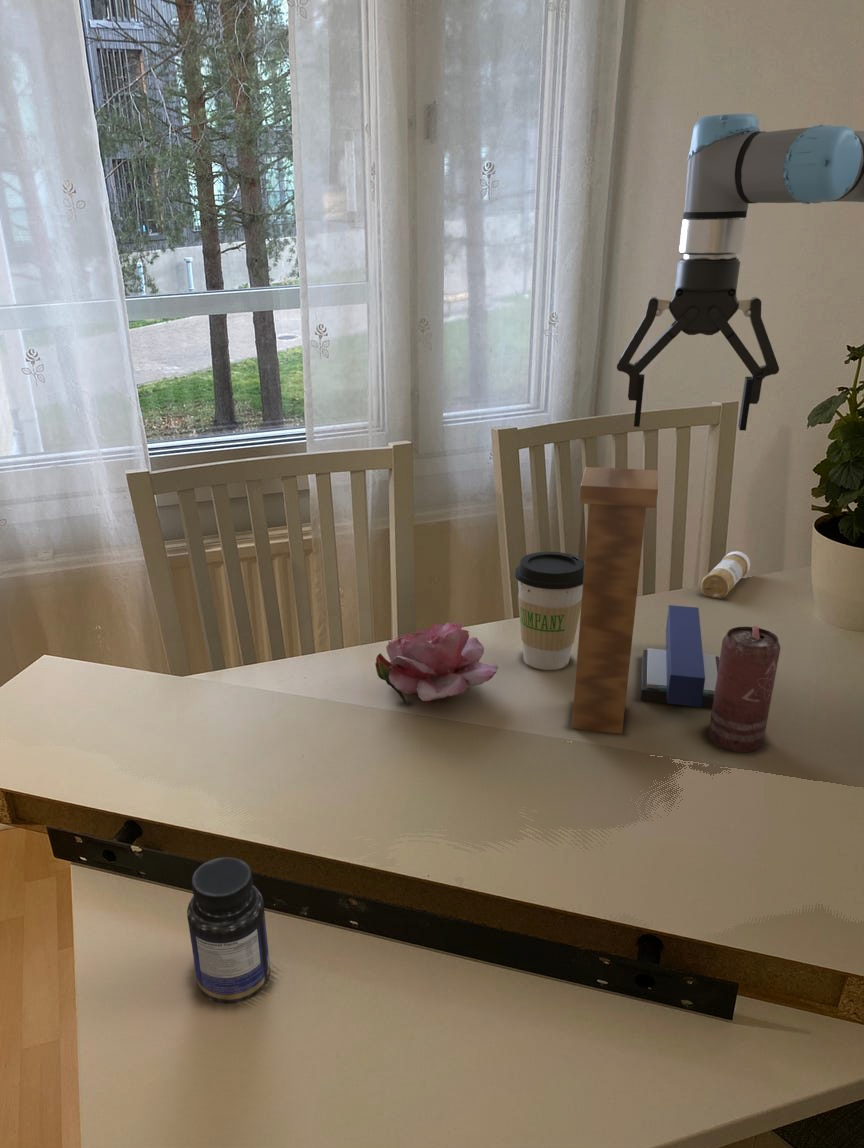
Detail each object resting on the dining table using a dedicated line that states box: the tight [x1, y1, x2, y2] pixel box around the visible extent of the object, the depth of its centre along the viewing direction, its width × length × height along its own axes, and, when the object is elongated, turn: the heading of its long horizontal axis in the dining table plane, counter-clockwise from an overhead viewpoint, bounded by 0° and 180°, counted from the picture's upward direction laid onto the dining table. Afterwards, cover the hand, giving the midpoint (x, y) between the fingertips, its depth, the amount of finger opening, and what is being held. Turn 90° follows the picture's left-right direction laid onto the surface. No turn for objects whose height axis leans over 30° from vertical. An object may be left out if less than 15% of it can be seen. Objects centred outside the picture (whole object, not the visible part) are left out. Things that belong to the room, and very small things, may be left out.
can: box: [708, 625, 781, 753], centre depth 105 cm, size 6×6×14 cm
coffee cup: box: [514, 551, 585, 671], centre depth 125 cm, size 10×10×15 cm
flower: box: [375, 621, 499, 705], centre depth 119 cm, size 15×15×10 cm
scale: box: [640, 647, 720, 709], centre depth 121 cm, size 10×12×3 cm
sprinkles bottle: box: [700, 550, 751, 600], centre depth 151 cm, size 5×5×13 cm
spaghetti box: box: [665, 604, 705, 708], centre depth 120 cm, size 4×22×4 cm, turn 165°
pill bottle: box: [186, 856, 271, 1005], centre depth 74 cm, size 6×6×11 cm
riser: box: [571, 466, 659, 735], centre depth 107 cm, size 8×8×31 cm
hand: (688, 426), depth 123 cm, fingers open, 13 cm apart
